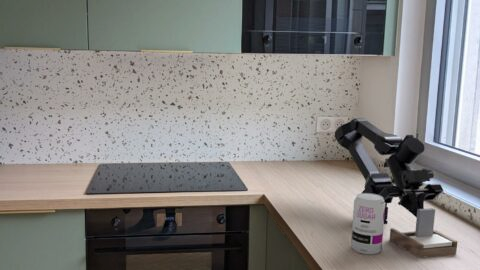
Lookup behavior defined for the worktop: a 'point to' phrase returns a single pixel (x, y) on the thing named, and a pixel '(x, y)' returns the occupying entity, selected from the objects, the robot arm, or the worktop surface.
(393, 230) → the board
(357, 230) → the supplement can
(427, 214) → the lid
